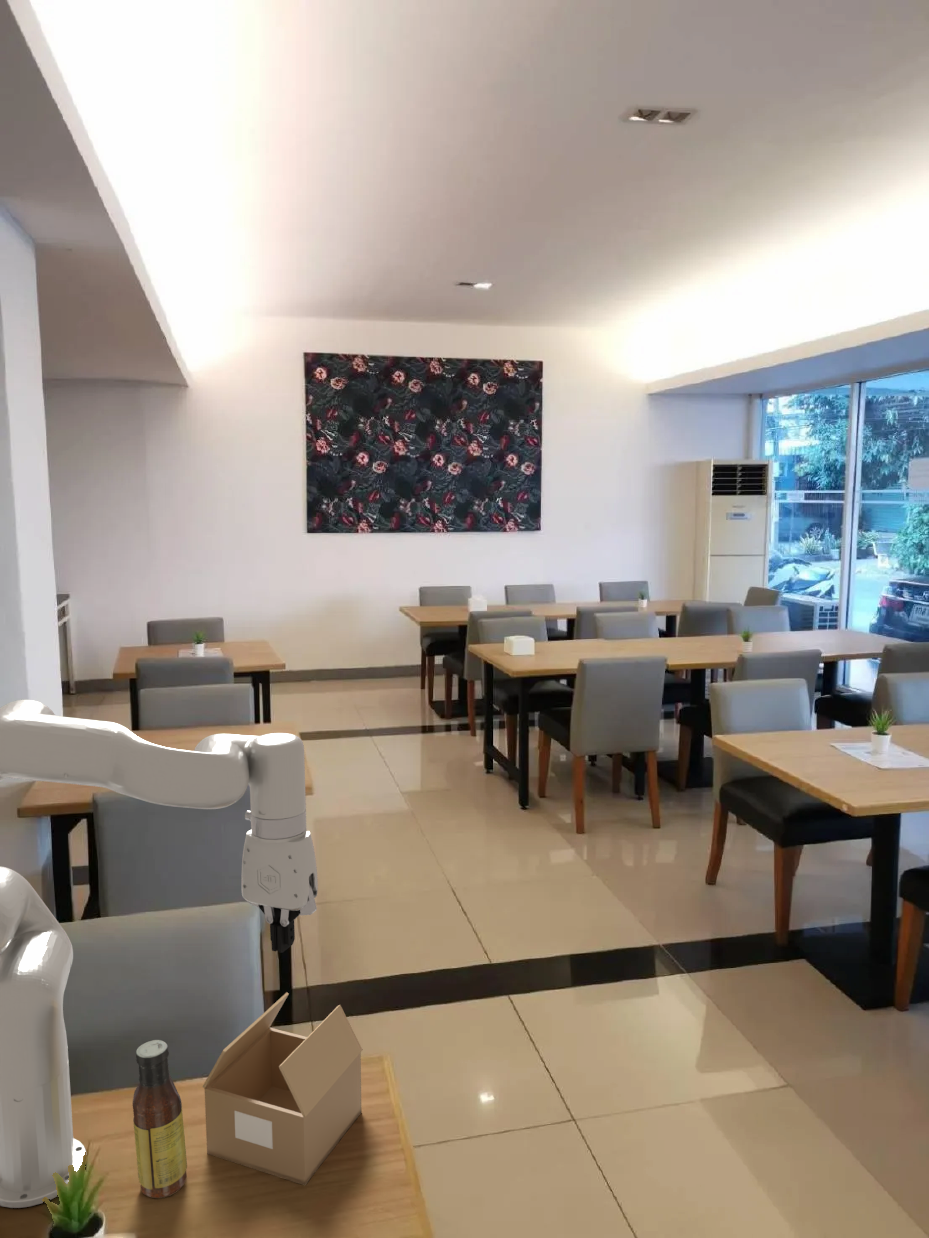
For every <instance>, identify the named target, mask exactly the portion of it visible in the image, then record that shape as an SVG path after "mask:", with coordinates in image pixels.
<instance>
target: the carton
mask: <svg viewBox="0 0 929 1238" xmlns="http://www.w3.org/2000/svg"><path fill="white" fill-rule="evenodd" d="M307 1037H308V1036H304V1035H300V1034H296V1033H293V1032H289V1031H284V1030H280V1029H277V1028H274V1027H273V1028H272V1027H271V1026H270V1027H269V1028H268V1029H267V1030H266V1031H265V1032H264V1033H263V1034H262V1035H261V1036H260V1037H259V1038H258V1039H257V1040H256V1041H255V1042H254V1043H252V1044H251V1045H250V1046H249V1047H248V1048H247V1049H246V1050H245V1051H244V1052H243V1053H242V1054H241V1055H240V1056H239V1057H238V1058H237V1059H235V1060H234V1061H233V1062H232V1063H231V1064H230V1065H229V1066H228V1067H227V1068H226V1069H225V1070H224V1071H223V1072H222V1073H221V1074H219V1075H218V1076H217V1077H216V1078H215V1079H214V1080H213V1081H212V1082H211V1083H210V1084H209V1085H208V1086H207V1087H206V1088H205V1089H204V1105H205V1106H204V1107H205V1109H204V1110H205V1134H206V1154H207V1155H210V1156H213V1157H216V1158H219V1159H222V1160H225V1161H228V1162H231V1163H235V1164H238V1165H240V1166H245V1167H247V1168H250V1169H253V1170H256V1171H259V1172H262V1173H264V1174H269V1175H272V1176H275V1177H277V1178H281V1179H284V1180H287V1181H290V1182H293V1183H297V1184H299V1185H303V1186H306V1185H307V1184H308V1182H309V1181H310V1180H311V1179H312V1177H313V1176H314V1174H315V1173H316V1172H317V1171H318V1169H319V1168H321V1166H322V1164H323V1163H324V1162H325V1160H326V1159H327V1158H328V1156H329V1155H330V1154H331V1152H333V1150H334V1149H335V1147H336V1146H337V1145H338V1144H339V1142H340V1141H341V1140H342V1138H343V1137H344V1136H345V1134H347V1131H349V1129H350V1128H351V1126H352V1125H354V1123H355V1121H356V1120H357V1118H359V1116H360V1115H361V1114H362V1112H363V1111H362V1058H361V1057H362V1056H361V1055H362V1054H361V1053H362V1052H361V1053H360V1054H359V1055H358V1056H357V1057H356V1058H355V1060H354V1061H353V1062H352V1063H351V1064H350V1065H349V1067H348V1068H347V1069H346V1070H345V1071H344V1073H343V1074H342V1075H341V1076H340V1077H339V1078H338V1080H337V1081H336V1082H335V1083H334V1084H333V1085H332V1087H331V1088H330V1089H329V1090H328V1091H327V1092H326V1094H325V1095H324V1096H323V1097H322V1098H321V1099H320V1101H319V1102H318V1103H317V1104H316V1105H315V1107H314V1108H313V1109H312V1110H311V1111H310V1112H309V1114H308V1115H307V1116H306V1117H304V1118H303V1115H302V1113H301V1111H300V1109H299V1107H298V1105H297V1103H296V1101H295V1099H294V1097H293V1095H292V1093H291V1091H290V1089H289V1087H288V1085H287V1083H286V1081H285V1079H284V1077H283V1075H282V1073H281V1071H280V1069H279V1066H280V1065H281V1064H282V1063H283V1062H284V1061H285V1060H286V1059H287V1058H288V1056H289V1055H290V1054H291V1053H292V1052H293V1051H294V1050H295V1049H296V1048H297V1047H298V1046H299V1045H300V1044H301V1043H302V1042H303V1041H304V1040H305V1039H306V1038H307Z"/></svg>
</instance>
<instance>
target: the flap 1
mask: <svg viewBox="0 0 929 1238" xmlns="http://www.w3.org/2000/svg"><path fill="white" fill-rule="evenodd" d="M289 994H290V993H288V992H285V993H284V994H283V995H282V996H281V997H280V998H279V999H278V1000H276V1002H275V1003H273V1004H272V1005H271V1006H270V1007H269V1008H268V1009H267V1010H266V1011H264V1012H263V1013H262V1014H261V1015H260V1016H259V1017H257V1019H256V1020H255V1021H253V1022H252V1023H251V1024H250V1025H249V1026H247V1028H246V1029H245V1030H243V1031H242V1032H241V1033H240V1034H239V1035H237V1037H235V1039H233V1040H232V1041H231V1042H230V1043H229V1044H228V1045H226V1047H224V1048H223V1049H222V1051H221V1053H220V1055H219V1056H218V1058H217V1059H216V1062H215V1064H214V1065H213V1067H212V1069H211V1070H210V1072H209V1074H208V1076H207V1078H206V1080H205V1082H204V1083H203V1085H202V1088H203V1089H204V1090H205V1088H206V1087H207V1086H208V1085H209V1084H210V1083H211V1082H212V1081H213V1080H214V1079H215V1078H216V1077H217V1076H218V1075H219V1074H221V1073H222V1072H223V1071H224V1070H225V1069H226V1068H227V1067H228V1066H229V1065H230V1064H231V1063H232V1062H233V1061H234V1060H235V1059H237V1058H238V1057H239V1056H240V1055H241V1054H242V1053H243V1052H244V1051H245V1050H246V1049H247V1048H248V1047H249V1046H250V1045H251V1044H252V1043H254V1042H255V1041H256V1040H257V1039H258V1038H259V1037H260V1036H261V1035H262V1034H263V1033H264V1032H265V1031H266V1030H267V1029H268V1028H269V1027H270V1028H271V1026H272V1024H273V1022H274V1021H275V1019H276V1017H277V1015H278V1013H279V1011H281V1008H282V1007H283V1005H284V1003H285V1002H286V999H287V998H288V996H289Z"/></svg>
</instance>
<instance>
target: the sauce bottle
mask: <svg viewBox="0 0 929 1238" xmlns="http://www.w3.org/2000/svg"><path fill="white" fill-rule="evenodd" d="M169 1055H170V1053H169V1046H168V1044H167V1043H166V1042H165V1041H163V1040H161V1039H153V1040H150V1041H147V1042H145V1043H142V1044H141V1045H140V1046H138V1047H137V1048H136V1051H135V1058H136V1059H135V1060H136V1064H137V1065H138V1074H139V1076H138V1081H139V1082H138V1085H137V1086H136V1087H135V1090H134V1093H133V1098H132V1105H131V1106H132V1112H133V1113H132V1114H133V1131H134V1144H135V1152H136V1165H137V1175H138V1183H139V1184H140V1189H141V1192H142V1193H143V1195H145V1196H147V1197H149V1198H153V1199H162V1198H163V1199H164V1198H167V1197H170V1196H172V1195H173V1194H175V1193H177V1192H178V1191H180V1190H181V1189H182V1187H184V1185H185V1183H186V1181H187V1179H188V1178H187V1168H188V1161H187V1160H188V1159H187V1150H186V1149H187V1148H186V1139H185V1128H184V1127H185V1126H184V1114H183V1105H182V1103H183V1102H182V1099H181V1096H180V1094H179V1092H178V1089H177V1087H176V1085H175V1083H174V1081H173V1078H172V1076H171V1074H170V1072H171V1071H170V1069H169V1059H168V1057H169Z"/></svg>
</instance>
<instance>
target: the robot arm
mask: <svg viewBox="0 0 929 1238" xmlns="http://www.w3.org/2000/svg"><path fill="white" fill-rule="evenodd" d="M304 745H305V744H304V741H303V740H302V739H301V738H300V737H299V736H298V735H296V734H293V733H288V732H287V733H286V732H274V733H273V732H272V733H266V734H261V735H247V734H234V733H215V734H211V735H208V736H206V737H204V738H203V739H201V740H200V741H199V742H198V743H197V745H196V746H195V747H194V750H186V749H178V748H174V747H166V746H164V745H163V746H162V745H159V744H155V743H152V742H150V741H148V740H145V739H143V738H141V737H140V736H137V735H136V734H135V733H134V732H133V731H131V730H130V729H129V728H127V727H126V726H124V725H122V724H120V723H117V722H113V721H108V720H107V721H106V720H97V719H88V718H79V717H69V716H61V715H56V714H55V713H54V711H53V710H52V709H51V708H50V707H48V706H47V705H46V704H44V703H43V702H40V701H38V700H32V699H18V700H14V701H10V702H8V703H6V704H4V705H3V706H1V707H0V783H1V782H2V781H4V780H5V779H6V778H7V779H14V780H15V779H17V780H25V781H37V782H48V783H59V784H70V785H78V786H79V785H80V786H89V787H99V788H104V789H108V790H110V791H113V792H115V793H117V794H121V795H124V796H127V797H131V798H133V799H137V800H140V801H144V802H147V803H151V804H155V805H161V806H167V807H173V808H174V807H176V808H184V809H185V808H188V809H197V810H198V809H199V810H217V809H223V808H227V807H230V806H231V805H233V804H236V803H237V802H238V801H240V799H242V797H243V796H244V795H245V793H246V792H247V789H248V786H249V799H250V802H249V803H250V810H246V811H245V813H244V819H245V820H246V821H249V822H250V828H251V829H250V830H248V831H247V832H246V835H245V839H244V844H243V851H242V859H241V861H242V862H241V878H240V879H241V887H240V888H241V895H242V896H241V897H242V898H243V899H244V900H245V901H247V903H249V904H250V905H252V906H254V907H257V908H259V910H260V911H261V912H262V914H263V915H264V916H265V917H264V919H265V921H266V923H268V924H269V930H270V931H269V932H270V933H269V936H270V941H271V951H272V952H278V953H284V952H285V951H287V950H288V949H289V948H291V946H293V945H294V942H295V939H296V937H295V936H296V935H295V932H296V931H295V920H296V919H297V918H298V917H299V916H311V915H313V914H314V913H315V912H317V909H318V907H317V903H316V899H315V898H317V896H318V891H319V888H318V886H319V884H318V880H319V879H318V869H317V868H318V867H317V860H316V852H315V848H314V843H313V838H312V834H311V832H310V830H308V828H307V803H306V800H307V798H306V765H305V762H306V761H305V759H306V758H305V746H304ZM73 948H74V947H73V945H72V942H71V940H70V938H69V936H68V934H67V932H66V931H65V929H64V928H63V926H62V925H61V924H60V922H59V920H57V918H56V917H55V916H54V914H53V913H52V912H51V910H50V909H49V908H48V906H47V905H46V903H45V902H44V901H43V899H42V898H41V896H40V895H39V894H38V892H37V890H35V889H34V887H33V886H32V885H31V882H29V881H28V879H26V877H24V876H23V875H22V874H20V873H19V872H17V871H16V870H14V869H11V868H9V867H5V866H2V865H1V866H0V1207H3V1208H4V1207H5V1208H10V1209H13V1208H14V1209H17V1208H18V1209H21V1208H27V1207H33V1206H36V1205H40V1204H43V1201H42V1199H43V1198H44V1197H47V1198H48V1199H50V1200H49V1201H51V1200H53V1199H54V1198H55V1199H56V1197H58V1196H57V1190H56V1184H55V1181H54V1178H53V1176H52V1175H53V1173H55V1172H56V1173H58V1174H59V1175H60V1176H61V1177H62V1178H63V1180H64V1182H65V1183H66V1184H68V1182H69V1180H68V1178H69V1172H68V1166H69V1165H73V1167H74V1171H76V1172H77V1171H78V1170H79V1168H80V1166H81V1165H82V1162H83V1156H84V1155H85V1152H86V1153H87V1150H86V1147H85V1146H84V1144H83V1143H82V1142H81V1141H80V1140H78V1139H76V1138H74V1128H73V1113H72V1097H71V1094H72V1093H71V1082H70V1081H71V1080H70V1066H69V1065H70V1064H69V1063H70V1062H69V1051H68V1049H69V1047H68V1039H67V1038H68V1037H67V1031H66V1030H67V1029H66V1024H65V1020H64V1010H63V1009H64V1008H63V1007H64V995H65V990H66V987H67V983H68V979H69V975H70V971H71V969H72V965H73V961H74V949H73Z"/></svg>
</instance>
